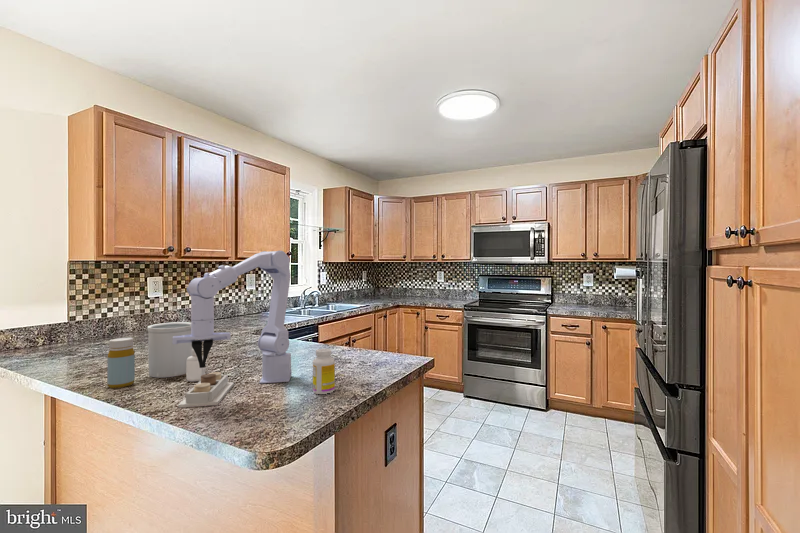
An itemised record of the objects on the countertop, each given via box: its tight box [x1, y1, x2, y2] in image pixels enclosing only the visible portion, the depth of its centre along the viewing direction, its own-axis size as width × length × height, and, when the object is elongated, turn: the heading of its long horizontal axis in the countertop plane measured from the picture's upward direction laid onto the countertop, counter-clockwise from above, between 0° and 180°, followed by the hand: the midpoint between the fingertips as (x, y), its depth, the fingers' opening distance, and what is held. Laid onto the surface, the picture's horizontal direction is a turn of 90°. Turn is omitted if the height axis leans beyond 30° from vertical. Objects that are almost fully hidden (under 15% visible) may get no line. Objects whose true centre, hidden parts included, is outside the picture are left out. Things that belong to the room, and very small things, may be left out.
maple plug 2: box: [208, 371, 222, 380], centre depth 114 cm, size 4×4×4 cm
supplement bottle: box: [312, 348, 336, 395], centre depth 111 cm, size 7×7×13 cm
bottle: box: [106, 337, 136, 389], centre depth 118 cm, size 7×7×15 cm
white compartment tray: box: [177, 374, 235, 409], centre depth 109 cm, size 10×18×4 cm, turn 12°
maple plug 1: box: [193, 383, 210, 393], centre depth 103 cm, size 4×4×4 cm
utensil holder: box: [147, 321, 193, 378], centre depth 133 cm, size 15×15×18 cm
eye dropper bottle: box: [185, 349, 206, 382], centre depth 123 cm, size 4×6×12 cm
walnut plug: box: [201, 373, 216, 386], centre depth 109 cm, size 4×4×4 cm
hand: (202, 366), depth 103 cm, fingers closed
